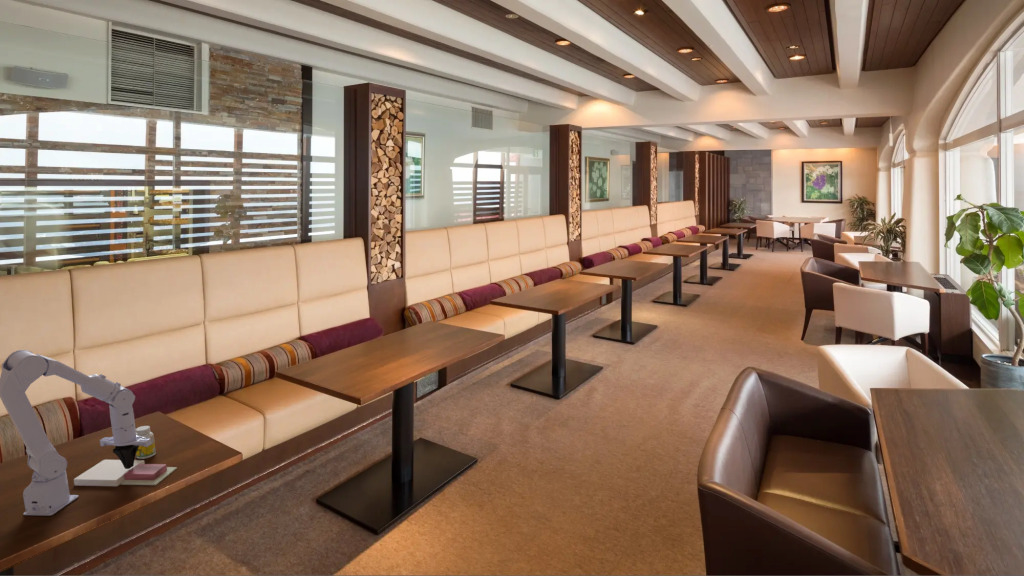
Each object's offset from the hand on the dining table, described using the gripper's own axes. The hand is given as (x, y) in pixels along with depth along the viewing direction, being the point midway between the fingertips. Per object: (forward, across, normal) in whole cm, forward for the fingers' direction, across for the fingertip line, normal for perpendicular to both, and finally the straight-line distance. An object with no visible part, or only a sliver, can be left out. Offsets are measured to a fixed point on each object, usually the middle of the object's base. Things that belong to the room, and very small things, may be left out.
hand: (129, 467), depth 171 cm
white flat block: (+3, +6, 0) cm, 7 cm away
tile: (+2, -5, 0) cm, 5 cm away
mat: (+3, -6, 0) cm, 7 cm away
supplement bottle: (+3, +4, -13) cm, 14 cm away
